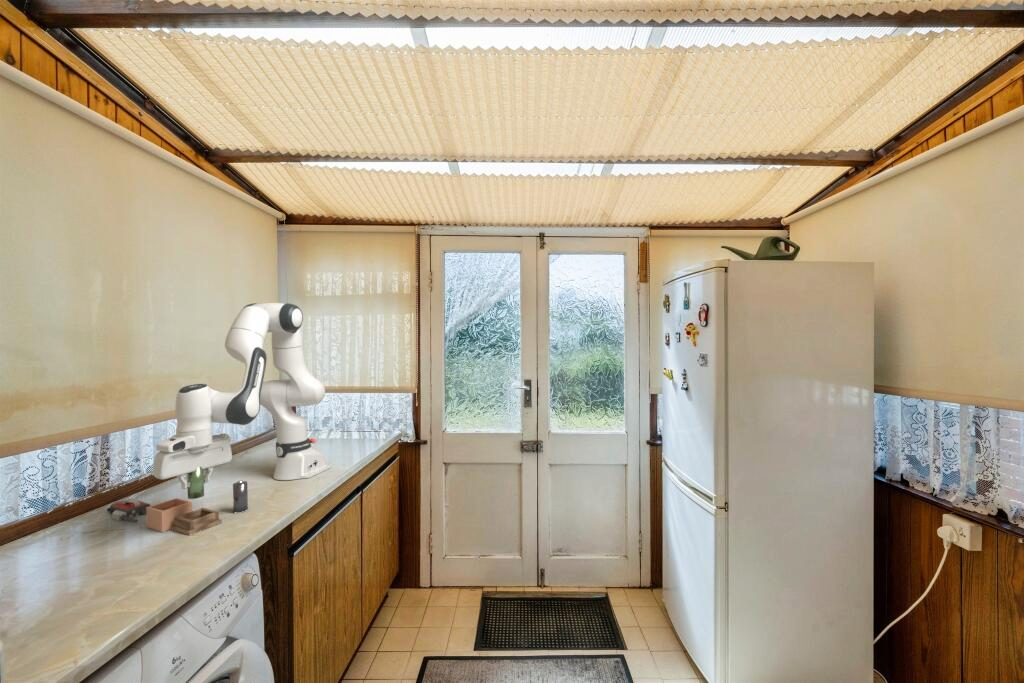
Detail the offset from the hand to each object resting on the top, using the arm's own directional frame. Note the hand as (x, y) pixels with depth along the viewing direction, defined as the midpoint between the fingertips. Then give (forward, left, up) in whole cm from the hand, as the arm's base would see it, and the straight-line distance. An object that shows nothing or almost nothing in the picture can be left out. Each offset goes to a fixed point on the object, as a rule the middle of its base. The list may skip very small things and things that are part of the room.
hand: (195, 485), depth 132 cm
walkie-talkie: (+3, -29, -13) cm, 32 cm away
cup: (+2, -9, -13) cm, 16 cm away
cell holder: (0, 0, -13) cm, 13 cm away
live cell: (0, 0, -3) cm, 3 cm away
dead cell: (-13, 0, -13) cm, 18 cm away
